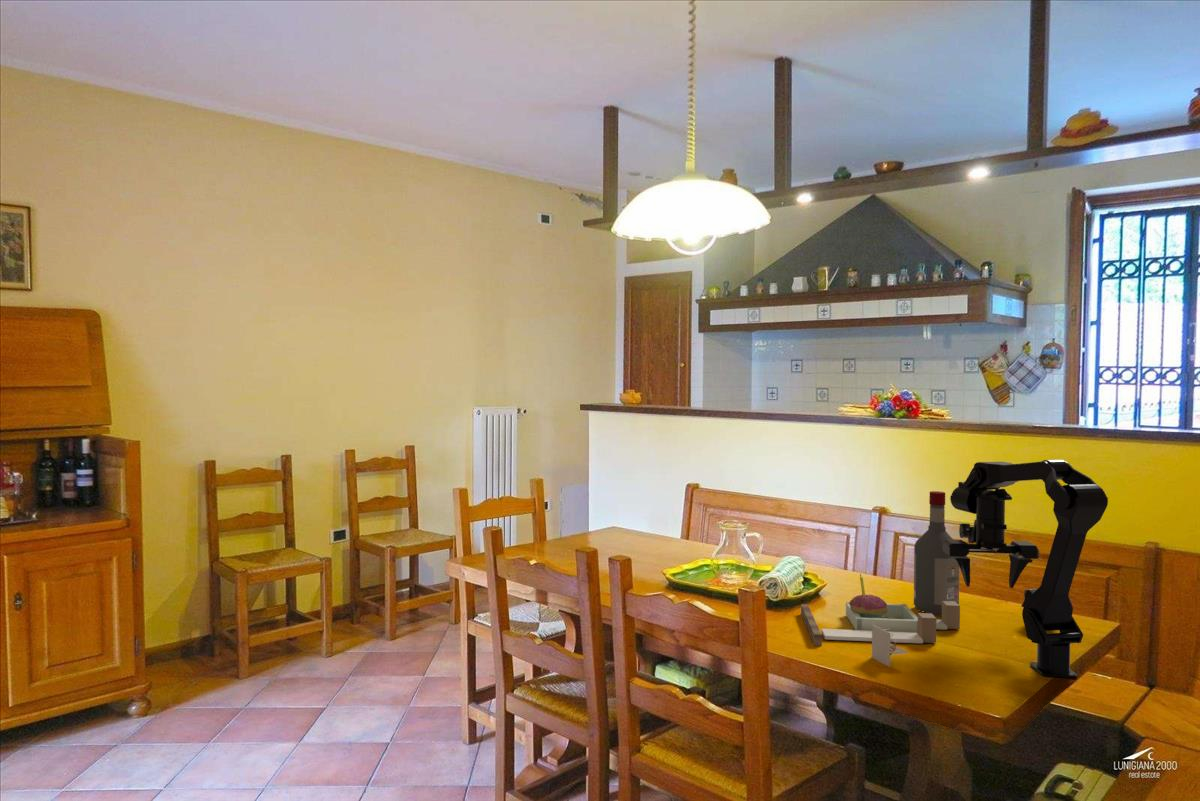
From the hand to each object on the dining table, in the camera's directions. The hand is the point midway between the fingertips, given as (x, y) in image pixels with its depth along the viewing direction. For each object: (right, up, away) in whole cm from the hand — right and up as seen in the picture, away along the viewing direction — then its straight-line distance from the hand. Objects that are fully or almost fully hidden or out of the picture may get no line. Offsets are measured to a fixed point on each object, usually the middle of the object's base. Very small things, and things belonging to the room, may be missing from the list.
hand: (989, 587), depth 174 cm
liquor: (-2, -12, +23) cm, 26 cm away
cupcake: (-23, -12, +11) cm, 28 cm away
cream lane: (-25, -12, +1) cm, 27 cm away
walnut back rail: (-38, -12, +8) cm, 40 cm away
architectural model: (-28, -13, -13) cm, 34 cm away
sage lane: (-15, -11, +10) cm, 22 cm away
